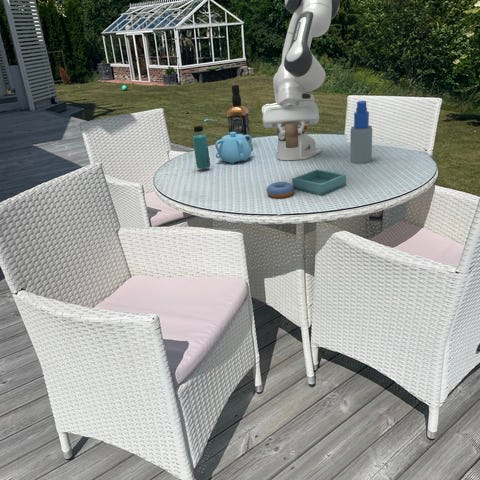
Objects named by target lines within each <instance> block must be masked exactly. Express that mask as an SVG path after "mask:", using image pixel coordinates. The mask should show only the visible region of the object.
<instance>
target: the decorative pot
mask: <svg viewBox="0 0 480 480" xmlns="http://www.w3.org/2000/svg"><path fill="white" fill-rule="evenodd" d="M245 137H249V143H248V141H247V140H246V138H245ZM251 143H252V144H253V138H252V136H251V134H250V135H241V134H236V132H230V135H229V134H227V135H224V136H222V137H221V139H218V140H216V142H215V144H214V146H215V149H216V151H217V152H216V154H215V157H216V158H217V159H221V160H222V161H224V162H227V163H229V164H230V163H231V165H232V163H233V164H235V163H237V162H246V161H247V160H248V159H249V158H250V157H251V155H252V152H253V151H254V147H253V145H252V146H251ZM218 144H219V145H218Z"/></svg>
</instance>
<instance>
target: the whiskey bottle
mask: <svg viewBox="0 0 480 480" xmlns="http://www.w3.org/2000/svg"><path fill="white" fill-rule="evenodd" d="M231 92H232V96H231V102H232V106H231V107H230V108H229V109H228V110H227V111H226V116H227V120H228V121H227V122H228V135H230V132H236V134H241V135H250V136H251V132H250V131H251V130H250V122H249V121H250V120H249V119H250V118H249V108H248V107H246V106H244V105H242V97H241V95H240V94H241V93H240V85H239V84H234V85H231ZM245 138H246V140H247V141H248V143H249V137H245ZM252 144H253V142H252V143H251V146H252V147H253V145H252Z"/></svg>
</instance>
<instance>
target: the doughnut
mask: <svg viewBox="0 0 480 480" xmlns="http://www.w3.org/2000/svg"><path fill="white" fill-rule="evenodd" d="M266 192H267V195H268V196H269V197H270V198H273V199H284V198H287V197H290V196H292V195H293V194H294V192H295V189H294V187H293V185H292V182H291V183H290V182H287V181H276V182H272V183H270V184H269V185H268V186H267V188H266Z"/></svg>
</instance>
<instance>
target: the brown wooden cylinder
mask: <svg viewBox="0 0 480 480" xmlns="http://www.w3.org/2000/svg"><path fill="white" fill-rule="evenodd" d="M285 141H286V148H296V147H298V126H297V123H287V124H285Z"/></svg>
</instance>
